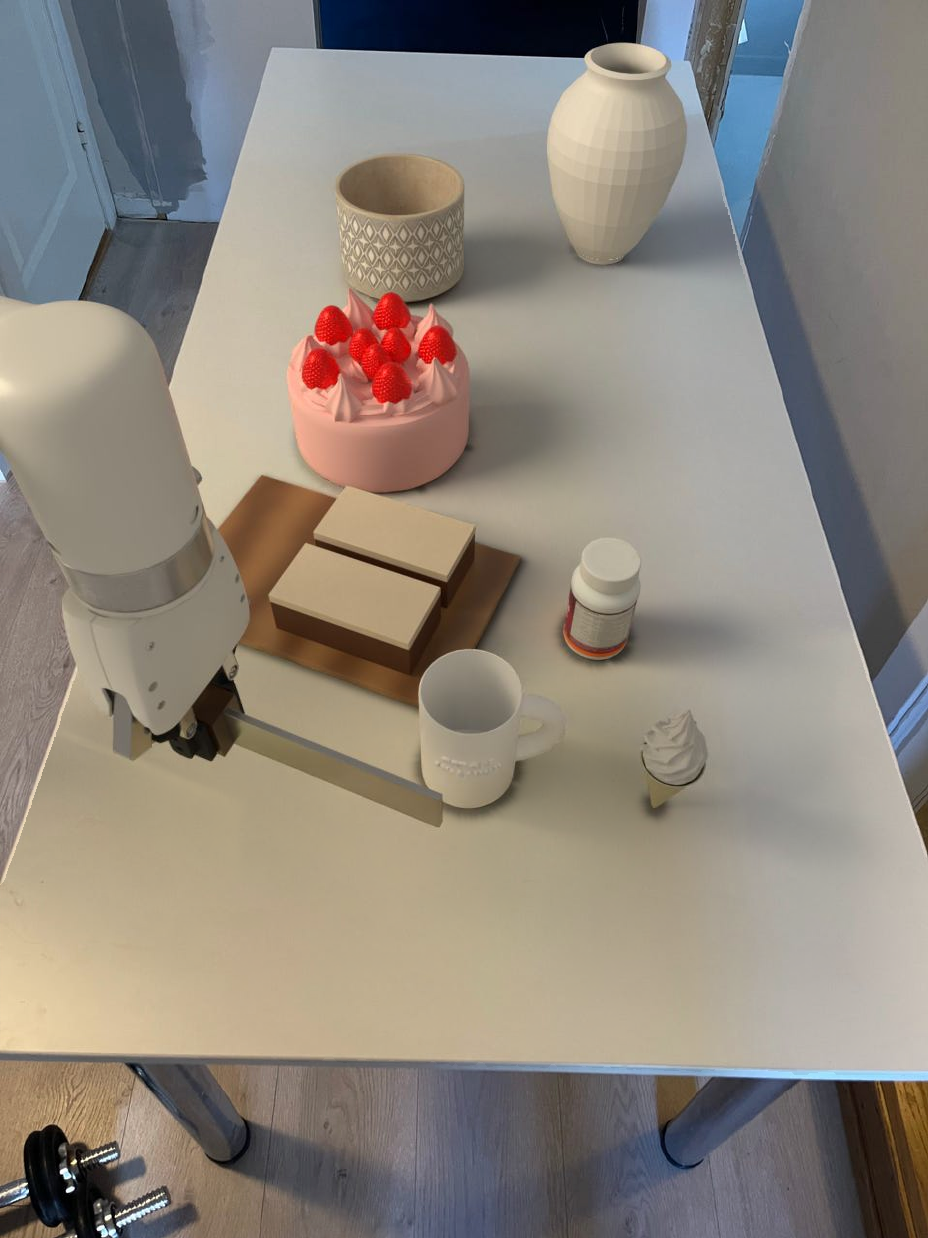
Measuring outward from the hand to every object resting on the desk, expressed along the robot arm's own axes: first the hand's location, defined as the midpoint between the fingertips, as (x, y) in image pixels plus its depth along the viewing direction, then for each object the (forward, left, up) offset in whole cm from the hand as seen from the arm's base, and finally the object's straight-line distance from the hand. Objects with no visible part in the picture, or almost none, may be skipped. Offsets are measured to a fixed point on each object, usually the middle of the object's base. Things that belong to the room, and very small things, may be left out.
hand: (209, 729), depth 61 cm
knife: (+5, 0, 0) cm, 5 cm away
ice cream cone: (+30, +16, -17) cm, 38 cm away
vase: (0, +97, -17) cm, 98 cm away
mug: (+16, +14, -17) cm, 27 cm away
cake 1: (-11, +49, -17) cm, 53 cm away
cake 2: (-1, +31, -16) cm, 35 cm away
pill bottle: (+20, +31, -17) cm, 40 cm away
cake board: (-5, +27, -17) cm, 32 cm away
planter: (-23, +80, -17) cm, 85 cm away
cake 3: (-1, +22, -16) cm, 28 cm away
